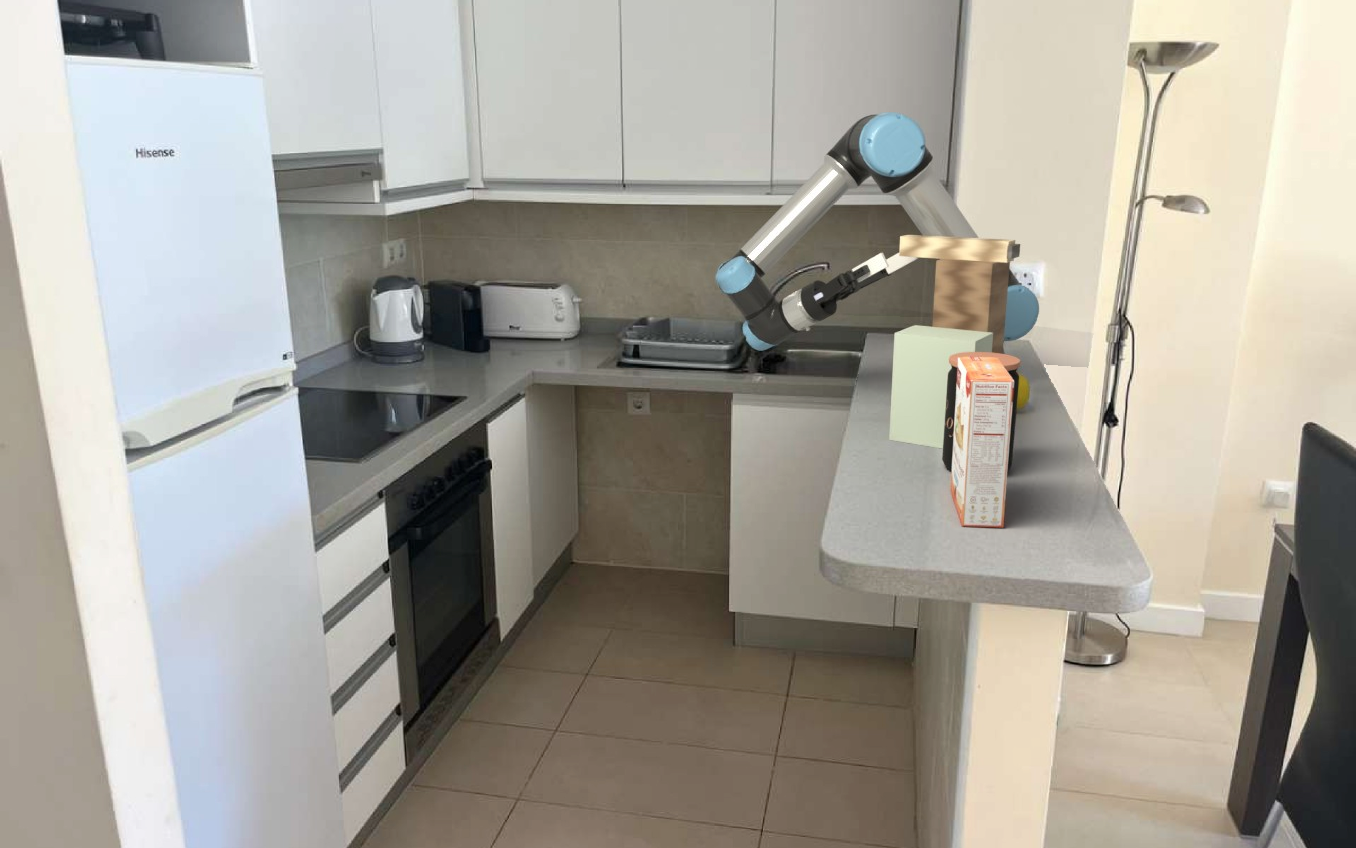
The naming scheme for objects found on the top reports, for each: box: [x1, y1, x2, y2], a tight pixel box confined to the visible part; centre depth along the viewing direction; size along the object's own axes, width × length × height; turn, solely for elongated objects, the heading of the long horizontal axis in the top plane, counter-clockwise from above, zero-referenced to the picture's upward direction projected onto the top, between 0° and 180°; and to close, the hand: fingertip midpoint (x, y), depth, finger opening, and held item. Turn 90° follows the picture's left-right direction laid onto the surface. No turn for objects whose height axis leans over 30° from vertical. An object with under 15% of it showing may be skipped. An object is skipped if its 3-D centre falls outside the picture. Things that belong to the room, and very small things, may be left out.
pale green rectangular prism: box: [888, 324, 993, 450], centre depth 173 cm, size 14×9×19 cm, turn 55°
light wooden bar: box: [898, 234, 1021, 263], centre depth 180 cm, size 21×4×4 cm, turn 54°
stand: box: [931, 259, 1011, 354], centre depth 183 cm, size 12×12×30 cm
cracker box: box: [950, 357, 1014, 529], centre depth 139 cm, size 14×6×21 cm, turn 171°
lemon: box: [1016, 371, 1031, 411], centre depth 191 cm, size 6×6×8 cm
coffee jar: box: [941, 352, 1021, 473], centre depth 157 cm, size 11×11×18 cm
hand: (900, 255), depth 186 cm, fingers open, 13 cm apart
